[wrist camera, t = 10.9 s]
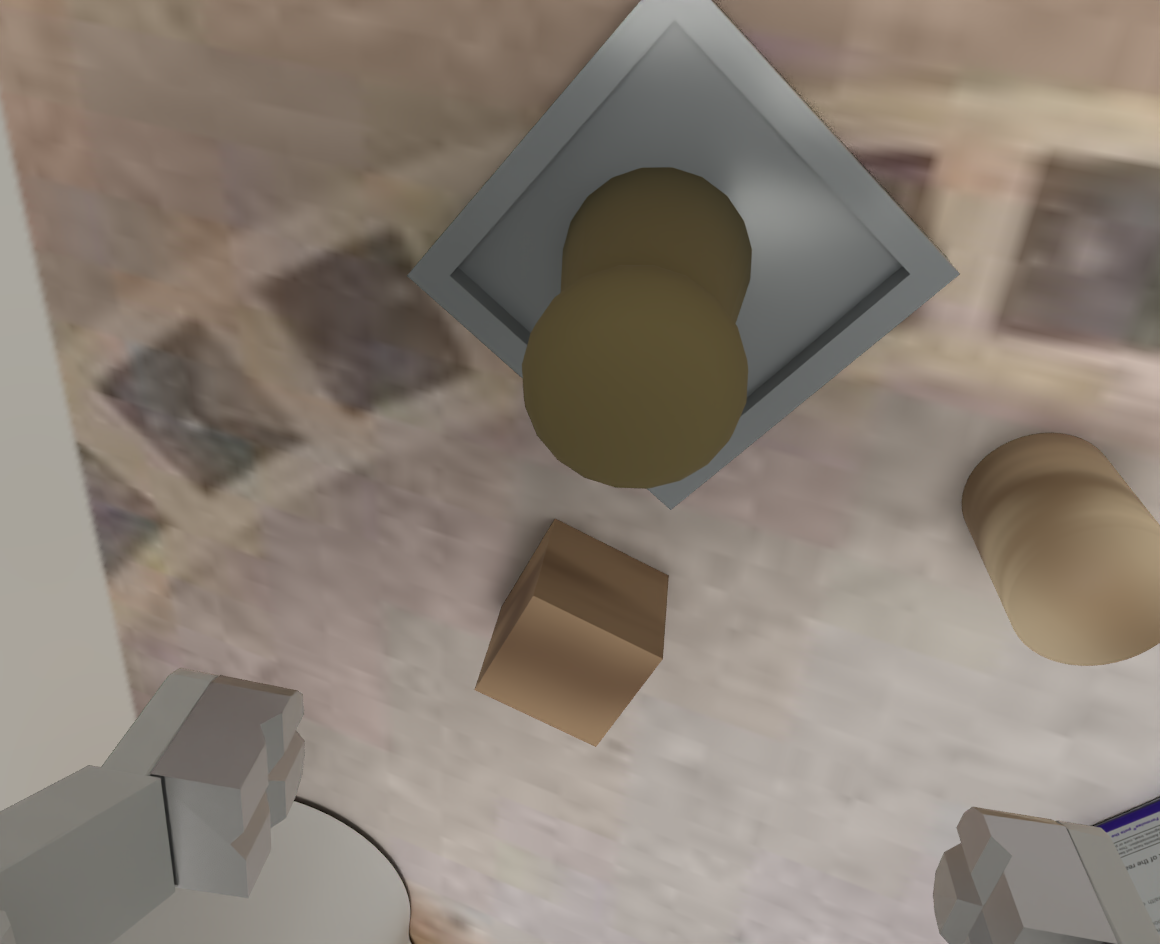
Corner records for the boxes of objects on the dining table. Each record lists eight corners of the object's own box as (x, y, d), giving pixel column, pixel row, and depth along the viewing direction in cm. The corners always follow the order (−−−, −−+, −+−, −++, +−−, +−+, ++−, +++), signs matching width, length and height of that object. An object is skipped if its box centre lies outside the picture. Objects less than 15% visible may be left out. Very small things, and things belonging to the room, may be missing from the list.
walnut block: (608, 657, 38) (595, 746, 34) (501, 605, 38) (474, 689, 33) (668, 574, 36) (662, 658, 32) (555, 517, 35) (533, 595, 31)
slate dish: (672, 487, 34) (670, 510, 32) (420, 261, 31) (407, 275, 29) (947, 259, 29) (959, 274, 27) (677, -40, 26) (674, -40, 24)
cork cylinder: (1018, 578, 34) (1073, 691, 29) (932, 493, 33) (973, 594, 27) (1144, 499, 32) (1229, 605, 26) (1057, 404, 30) (1129, 495, 25)
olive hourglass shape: (656, 122, 27) (626, 209, 18) (793, 265, 29) (832, 416, 19) (524, 264, 30) (434, 406, 20) (655, 387, 31) (629, 574, 22)
